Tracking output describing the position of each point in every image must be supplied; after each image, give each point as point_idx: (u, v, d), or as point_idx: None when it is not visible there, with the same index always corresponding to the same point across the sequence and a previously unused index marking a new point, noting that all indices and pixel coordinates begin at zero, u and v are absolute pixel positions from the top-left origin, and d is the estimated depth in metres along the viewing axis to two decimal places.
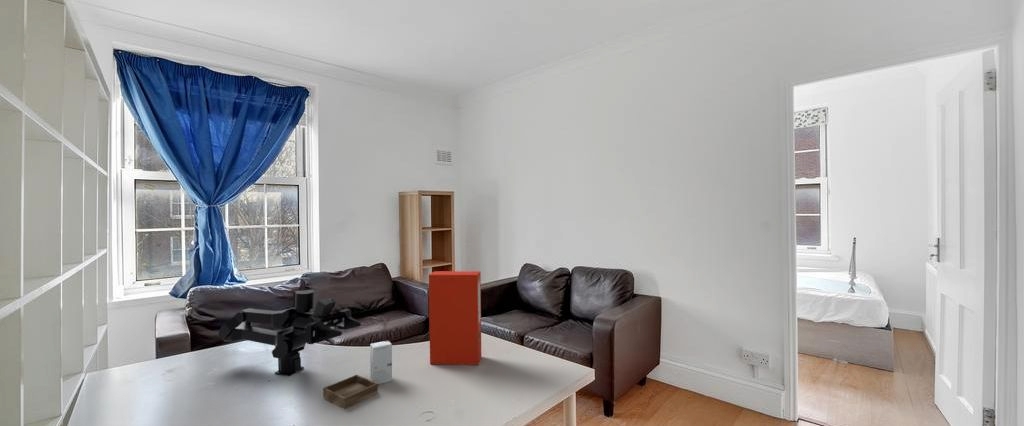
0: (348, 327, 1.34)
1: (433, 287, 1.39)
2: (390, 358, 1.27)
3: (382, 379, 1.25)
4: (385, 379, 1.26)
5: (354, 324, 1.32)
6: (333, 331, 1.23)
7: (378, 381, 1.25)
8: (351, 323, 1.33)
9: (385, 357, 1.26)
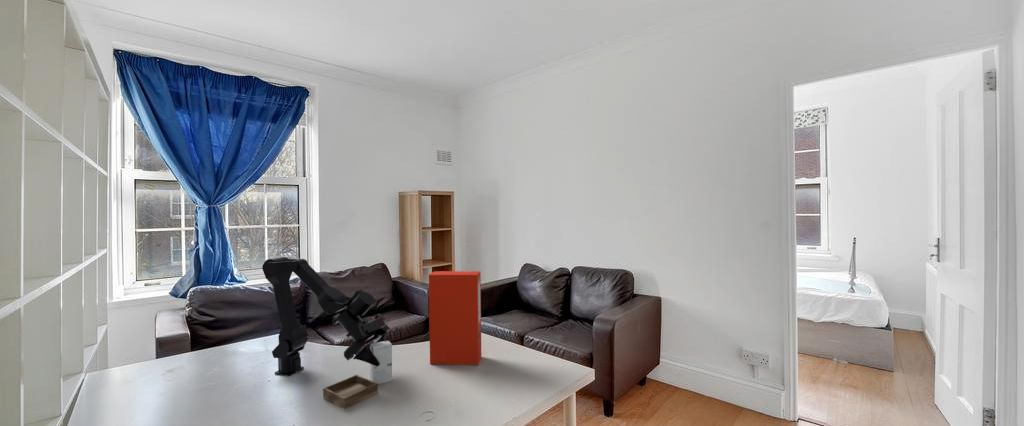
0: None
1: (433, 287, 1.39)
2: (390, 358, 1.27)
3: (382, 379, 1.25)
4: (385, 379, 1.26)
5: None
6: (373, 359, 1.23)
7: (378, 381, 1.25)
8: None
9: (385, 357, 1.26)
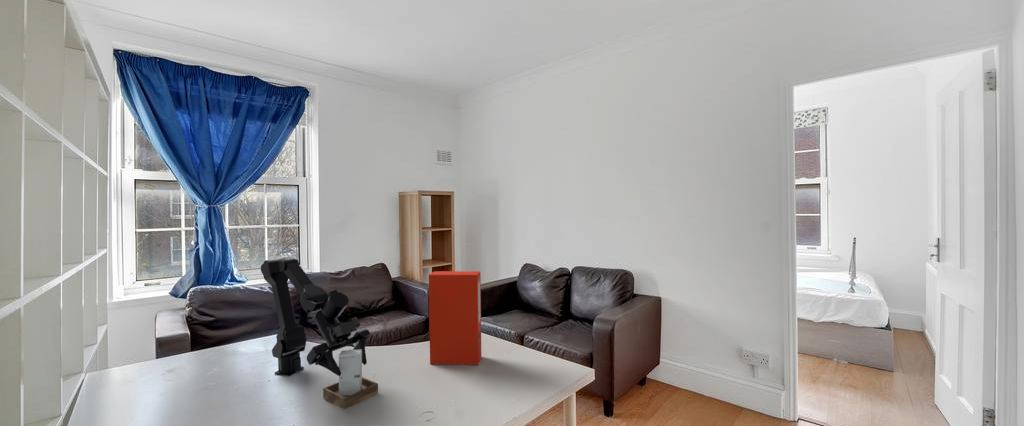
0: None
1: (433, 287, 1.39)
2: (358, 369, 1.16)
3: (348, 391, 1.15)
4: (351, 391, 1.16)
5: None
6: (334, 368, 1.13)
7: (344, 392, 1.15)
8: None
9: (352, 367, 1.16)
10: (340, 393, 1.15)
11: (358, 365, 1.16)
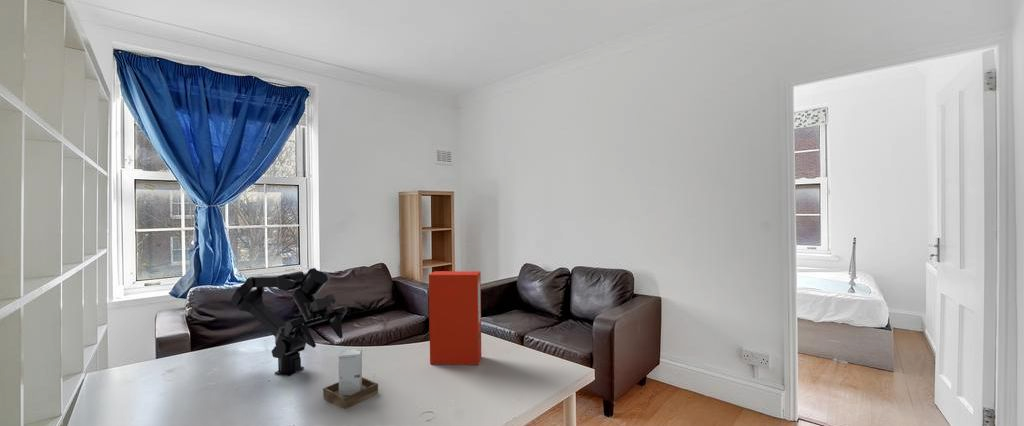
0: (333, 328, 1.31)
1: (433, 287, 1.39)
2: (358, 369, 1.16)
3: (348, 391, 1.15)
4: (351, 391, 1.16)
5: (337, 332, 1.29)
6: (309, 340, 1.21)
7: (344, 392, 1.15)
8: (336, 328, 1.30)
9: (352, 367, 1.16)
10: (340, 393, 1.15)
11: (358, 365, 1.16)
